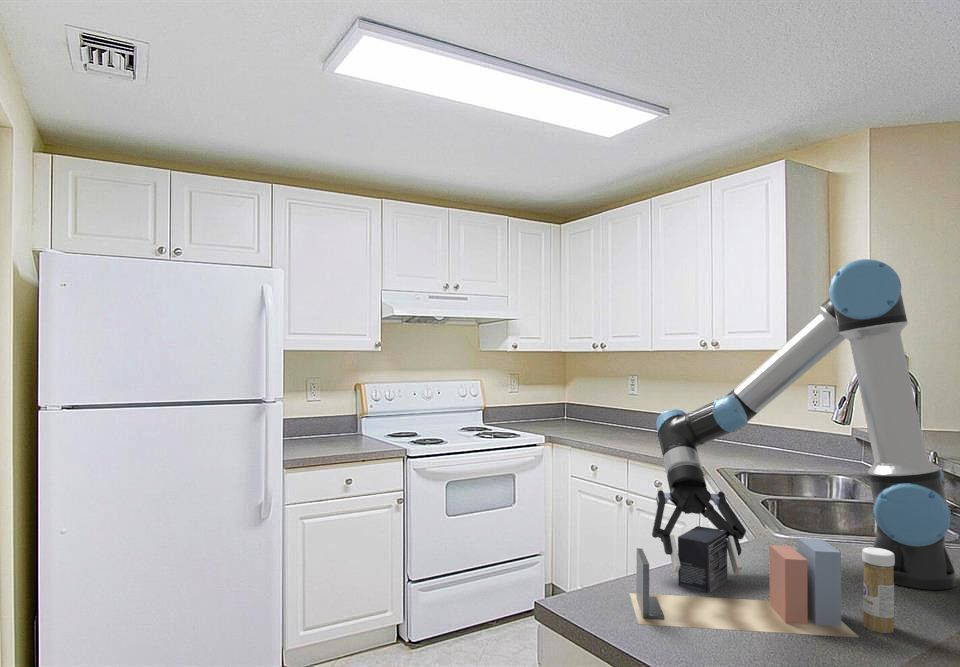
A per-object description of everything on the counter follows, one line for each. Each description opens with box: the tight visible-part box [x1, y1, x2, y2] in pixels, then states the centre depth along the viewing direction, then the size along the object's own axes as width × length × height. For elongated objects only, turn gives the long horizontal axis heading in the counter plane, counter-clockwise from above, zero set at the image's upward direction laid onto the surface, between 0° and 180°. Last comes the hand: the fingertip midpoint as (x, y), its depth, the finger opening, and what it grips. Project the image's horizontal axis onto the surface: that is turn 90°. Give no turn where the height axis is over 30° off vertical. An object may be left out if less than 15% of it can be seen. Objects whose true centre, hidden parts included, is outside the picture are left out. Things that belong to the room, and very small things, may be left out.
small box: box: [677, 525, 729, 594], centre depth 127 cm, size 11×6×10 cm, turn 141°
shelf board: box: [628, 592, 859, 638], centre depth 111 cm, size 34×14×1 cm, turn 83°
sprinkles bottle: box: [861, 546, 895, 634], centre depth 106 cm, size 5×5×13 cm
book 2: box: [796, 537, 842, 626], centre depth 111 cm, size 4×8×12 cm, turn 173°
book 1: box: [768, 544, 808, 624], centre depth 111 cm, size 4×8×10 cm, turn 173°
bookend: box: [636, 548, 664, 620], centre depth 113 cm, size 4×9×9 cm, turn 173°
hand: (707, 569), depth 124 cm, fingers closed on small box, 11 cm apart
